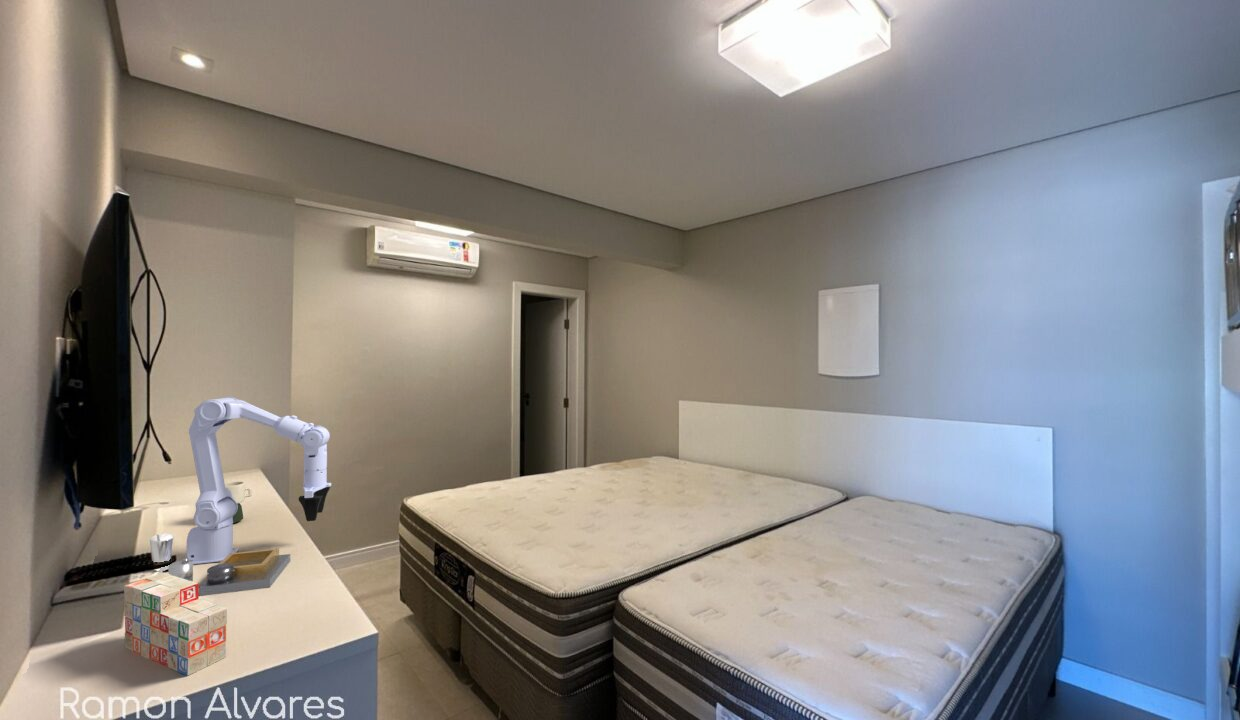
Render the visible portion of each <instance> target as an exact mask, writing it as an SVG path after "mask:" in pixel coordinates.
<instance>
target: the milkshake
mask: <svg viewBox="0 0 1240 720" xmlns="http://www.w3.org/2000/svg"><path fill="white" fill-rule="evenodd" d="M174 537H175V536H174V534H172V533H170V532H164V533H158V534H155V535H152V537H151V538H150V539H149V544H150V551H151V553H150V554H151V562H152V561H153V562H164V561H169V560H170V559H171V560H172V553H173V545H174ZM166 570H169V565H168V566H165V567H161V568H160V570H159V572H165V571H166Z"/></svg>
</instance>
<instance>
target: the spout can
mask: <svg viewBox="0 0 1240 720" xmlns="http://www.w3.org/2000/svg"><path fill="white" fill-rule="evenodd" d="M168 574H170V575H172V576H176V577H179V578H182V579H186V580H188V581H193V582H194V564H193V560H188V558H187V557H184V558H182V559H181V560H177V561H174V562H172V563H171V564H170V565H169V569H168Z"/></svg>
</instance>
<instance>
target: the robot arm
mask: <svg viewBox="0 0 1240 720" xmlns="http://www.w3.org/2000/svg"><path fill="white" fill-rule="evenodd" d="M193 411H194V416H193V419H192V422H191V424H190V427H189V429H188V434H189V438H190V439H189V440H190V444H191V445H190V446H191V451H192V455H193V462H194V466H195V471H196V477H197V478H196V479H197V482H198V488H199V493H200V494H199V496H198V498H197V500H196V501H195V512H194V515H193V523H194V524H195V527H191V529H189V531H188V533H187V537H186V558H188V560H193V565H198V564H199V565H200V564H208V563H209V564H211V563H220V562H221V561H222V560H223V559H224V558H225V557H227V556H228V555H229V554H230V553H238V552H240V551H239V550H240V548H234V523H233V516H234V515H235V514H236V512H237V509H238V505H237V502H236V501H235V500H234V499H233V497H232V494H231V491H229V490H228V489H227V488H226V487H225V483H226V482H225V478H224V473H223V467H222V461H221V456H220V449H219V444H218V439H217V435H216V434H217V432H218V431H219V430H220V429H221V428H222V427H223V426H224V425H225V424H226V423H228V422H230V421H232V420H234V419H245V420H250V421H252V422H254V423H258V424H260V425H263V426H265V427H266V426H267V427H270V428H273V430H274V432H275V434H276V435H278V436H281V437H283V438H286V439H288V440H292V441H293V442H297V443H300V444H301V446H302V447H303V485H302V490H303V491H304V494H303V495H299V496H298V502H299V503H300V504H301V507H302V508H303V511H304V516H305V520H306V522H315V521H317V517H318V514H319V513H323V510H324V507H325V503H326V498H327V495H328V493H329V491H330V489H331V486H332V482H327V481H328V478H327V476H328V473H327V471H328V469H327V468H328V451H327V450H328V444H327V443H328V442H329V440H330V437H331V434H330V431H329V429H328V428H326V427H324V426H323V425H315V424H314V423H313V422H310V423H308V422H306V421H304V420H300V419H298V416H297V415H293V414H292V415H285V416H282V417H280V416H278V415H276V414H274V413H272V412H269V411H267V410H265V409H262V408H260V407H258V406H255V405H253V404H251V403H249V402H247V401H245V400H243V399H237V398H235V397H233V396H225V397H221V398H214V399H212V398H211V399H210V398H209V399H206V400H204V401H202V402H201V403H200V404H199V405H198V406H197V407H195V408H194V410H193Z"/></svg>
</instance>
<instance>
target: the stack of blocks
mask: <svg viewBox="0 0 1240 720" xmlns="http://www.w3.org/2000/svg"><path fill="white" fill-rule="evenodd" d="M123 588H124V589H123V591H124V592H123V593H124V600H123V601H124V605H123V606H124V609H123V611H124V627H125V632H124V647H125V649H127V650H130V651H132V652H133V653H134V654H137V655H140V656H142V657H144V658H146V659H148V660H151V661H154V662H156V663H158V664H161V665H162V666H165V667H168V668H169V669H171V670H173V671H175V672H178V673H179V674H182V675H185V676H188V677H189V675H192V674H194V673H196V672H199V671H200V670H203V669H204V668H206V667H208V666H210V665H213V664H215V663H217V662H219V661H221V660H224V659H225V658H226V657H227V656H226V655H227V643H226V642H227V624H228V608H227V607H224V606H222V605H218V604H216V603H212V602H210V601H208V600H205V599H200V598H199V582H196V581H194V580H193V581H188V580H186V579H182V578H179V577H176V576H172V575H170V574H169V573H167V572H162V573H157V574H155V575H152V576H149V577H146V578H144V579H140V580H136V581H135V582H134V581H133V582H130V583H128V584H125V585H124V586H123Z"/></svg>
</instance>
